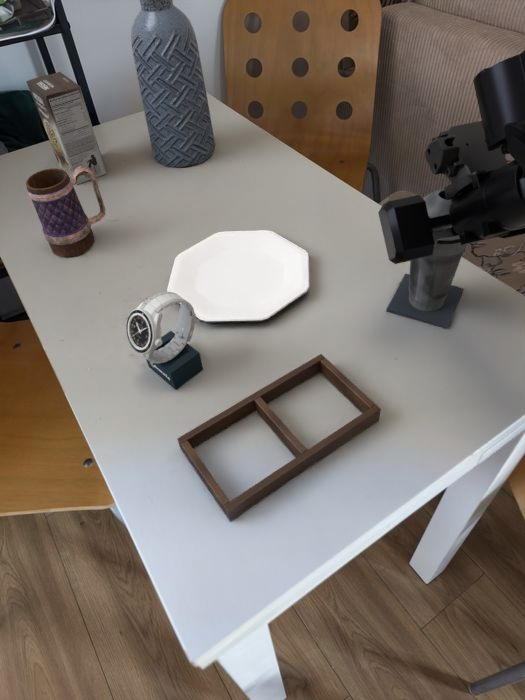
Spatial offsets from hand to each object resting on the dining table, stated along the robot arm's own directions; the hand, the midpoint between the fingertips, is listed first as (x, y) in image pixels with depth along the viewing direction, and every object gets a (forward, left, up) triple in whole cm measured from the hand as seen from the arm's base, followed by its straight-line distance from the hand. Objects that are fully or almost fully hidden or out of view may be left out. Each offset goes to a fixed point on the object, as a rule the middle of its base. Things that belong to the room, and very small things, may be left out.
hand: (433, 232), depth 62 cm
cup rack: (+7, +28, -10) cm, 30 cm away
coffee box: (+68, -9, -10) cm, 70 cm away
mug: (+52, +9, -10) cm, 54 cm away
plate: (+24, +7, -10) cm, 27 cm away
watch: (+23, +25, -10) cm, 35 cm away
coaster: (-1, +1, -10) cm, 10 cm away
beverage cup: (-1, +1, -10) cm, 10 cm away
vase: (+53, -22, -10) cm, 58 cm away
